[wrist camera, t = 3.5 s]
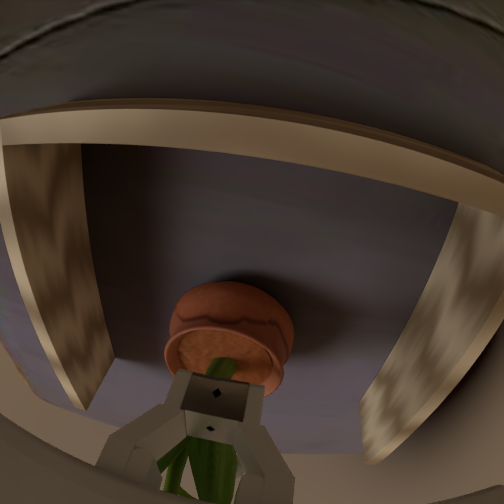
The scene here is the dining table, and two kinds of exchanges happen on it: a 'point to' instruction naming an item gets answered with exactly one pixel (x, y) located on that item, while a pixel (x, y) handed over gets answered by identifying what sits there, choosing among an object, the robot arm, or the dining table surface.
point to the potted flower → (223, 370)
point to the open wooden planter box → (264, 146)
